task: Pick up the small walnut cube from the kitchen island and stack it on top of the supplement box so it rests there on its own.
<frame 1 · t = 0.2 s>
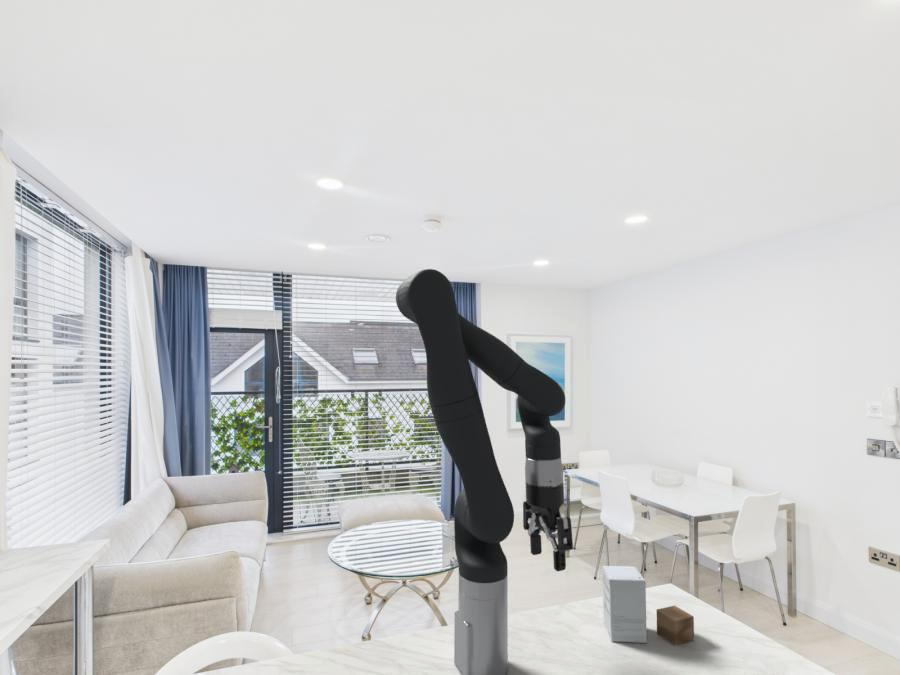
hand: (547, 561, 99), 17 cm above the kitchen island, tool pointing down, fingers open, 8 cm apart
supplement box: (624, 634, 105), on the kitchen island
walnut cube: (675, 637, 103), on the kitchen island
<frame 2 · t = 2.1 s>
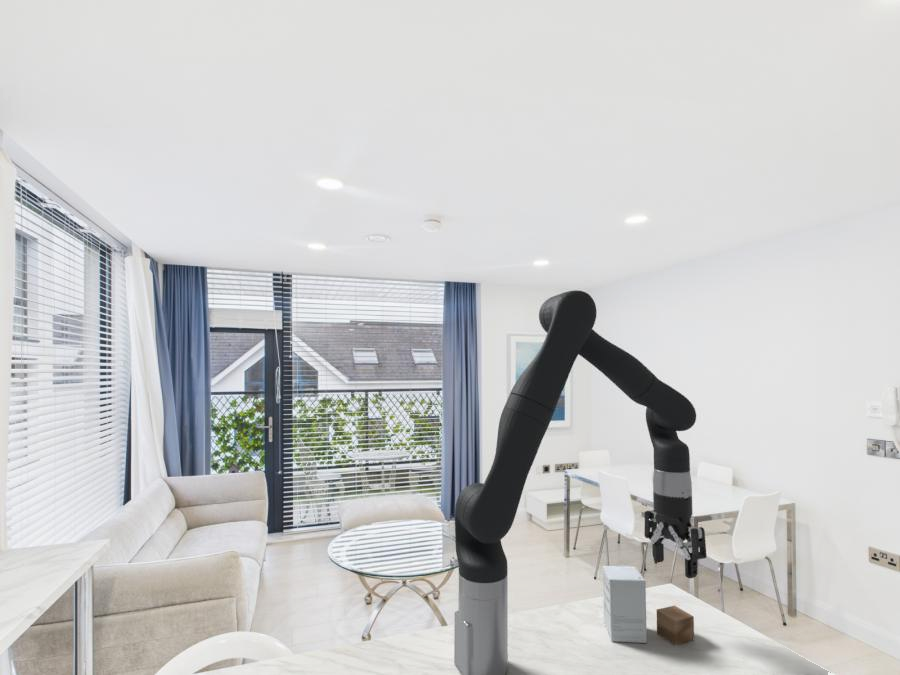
hand: (674, 569, 104), 14 cm above the kitchen island, tool pointing down, fingers open, 8 cm apart
nothing on the kitchen island moved.
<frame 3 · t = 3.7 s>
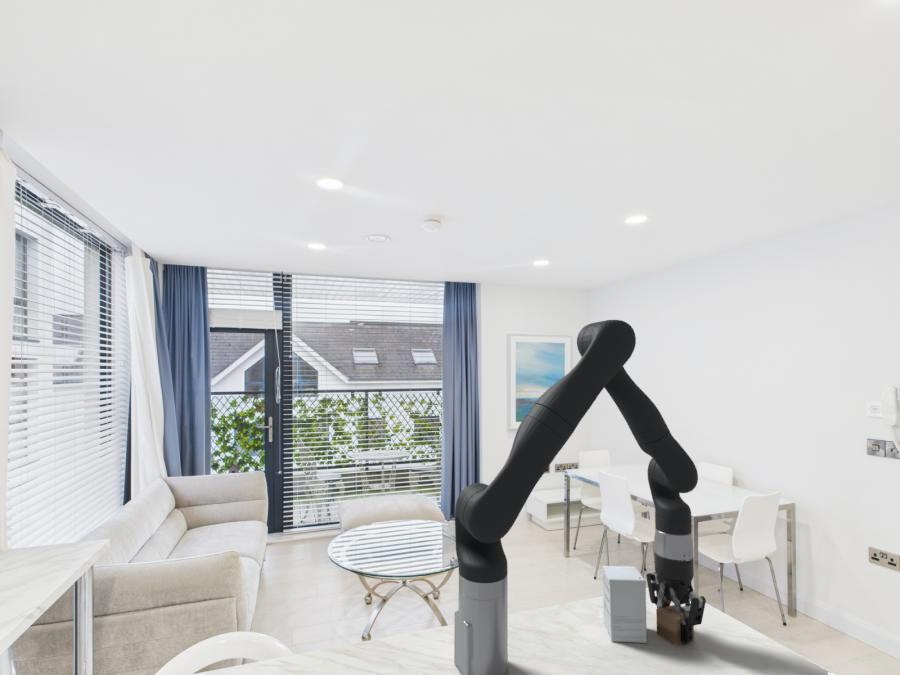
hand: (675, 634, 103), 0 cm above the kitchen island, tool pointing down, fingers closed on walnut cube, 5 cm apart
walnut cube: (675, 637, 103), on the kitchen island, touching gripper
everything else where it was.
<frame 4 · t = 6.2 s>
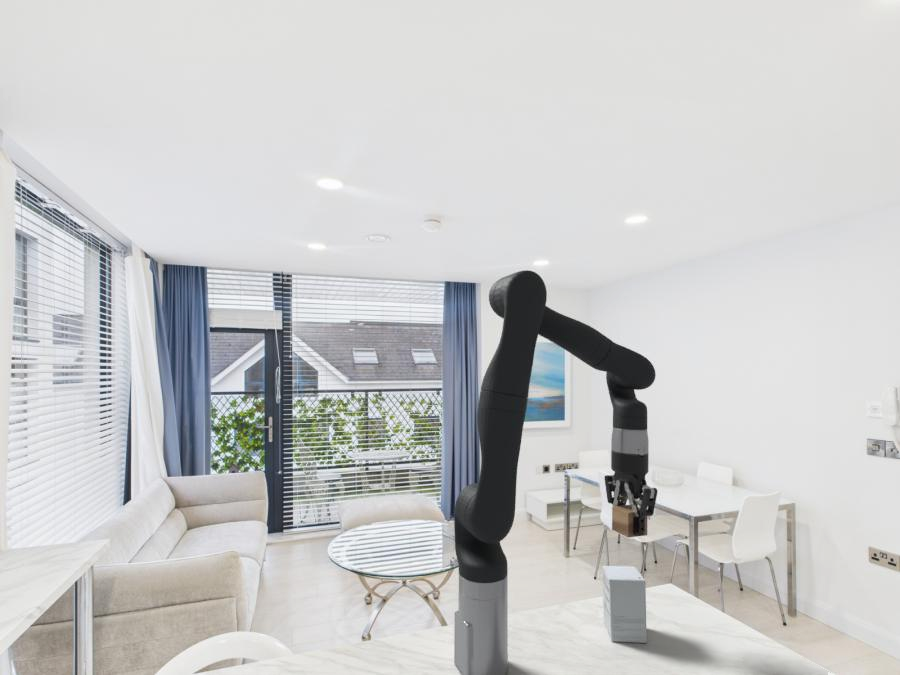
hand: (629, 530, 105), 22 cm above the kitchen island, tool pointing down, fingers closed on walnut cube, 5 cm apart
walnut cube: (629, 532, 105), point 21 cm above the kitchen island, touching gripper
everything else where it was.
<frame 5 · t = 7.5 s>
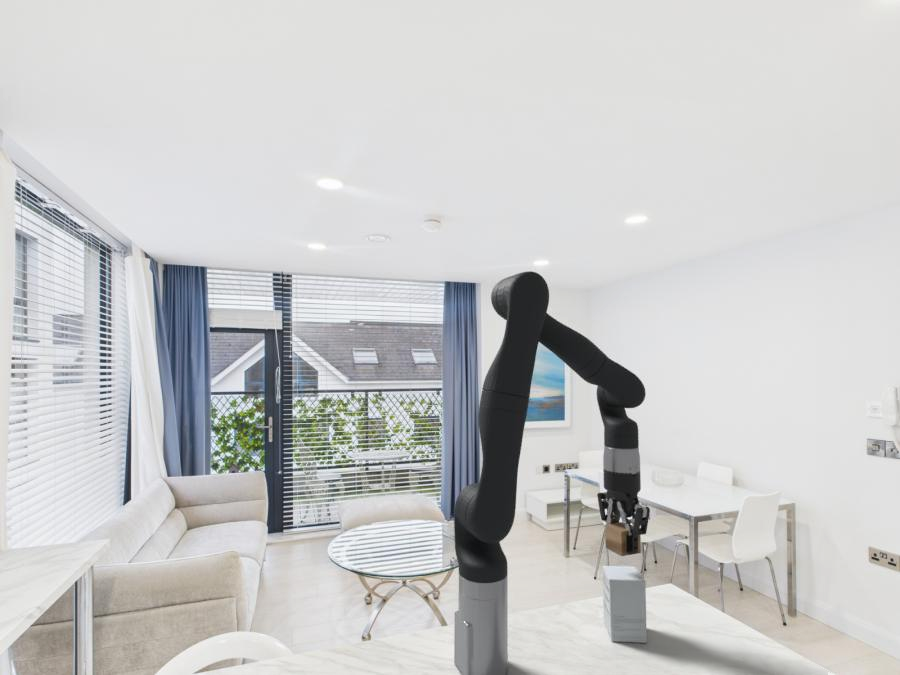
hand: (622, 548, 106), 18 cm above the kitchen island, tool pointing down, fingers closed on walnut cube, 5 cm apart
walnut cube: (623, 550, 106), point 17 cm above the kitchen island, touching gripper
everything else where it was.
when the fingers open (14 cm above the kitchen island, at t = 8.7 s): walnut cube drops 1 cm, resting on supplement box.
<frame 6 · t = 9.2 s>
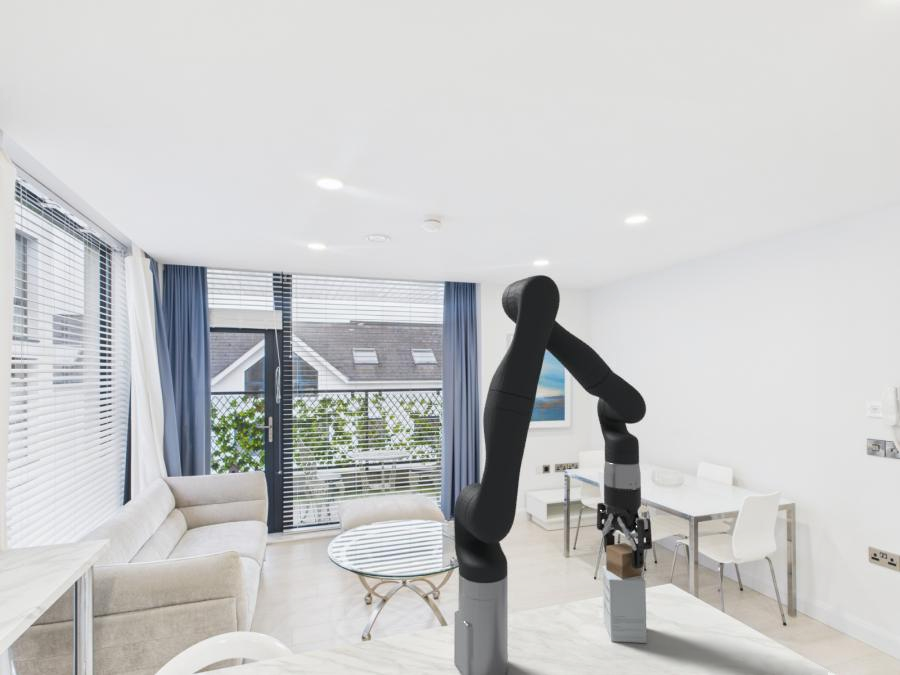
hand: (623, 560, 105), 15 cm above the kitchen island, tool pointing down, fingers open, 8 cm apart
supplement box: (624, 634, 105), on the kitchen island, touching walnut cube
walnut cube: (623, 572, 105), point 13 cm above the kitchen island, touching supplement box
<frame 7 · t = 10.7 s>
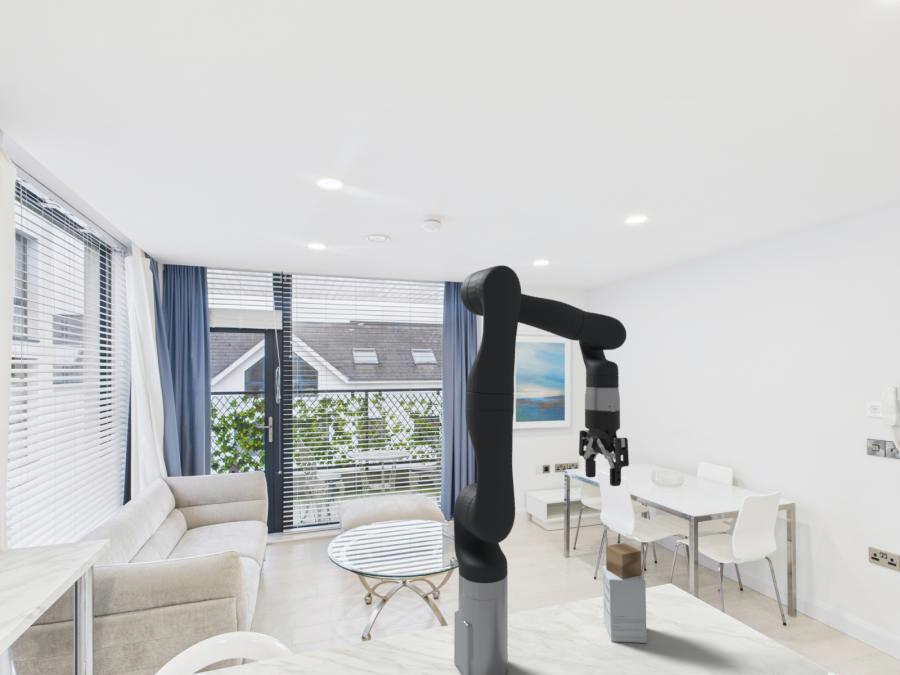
hand: (602, 481, 110), 31 cm above the kitchen island, tool pointing down, fingers open, 8 cm apart
nothing on the kitchen island moved.
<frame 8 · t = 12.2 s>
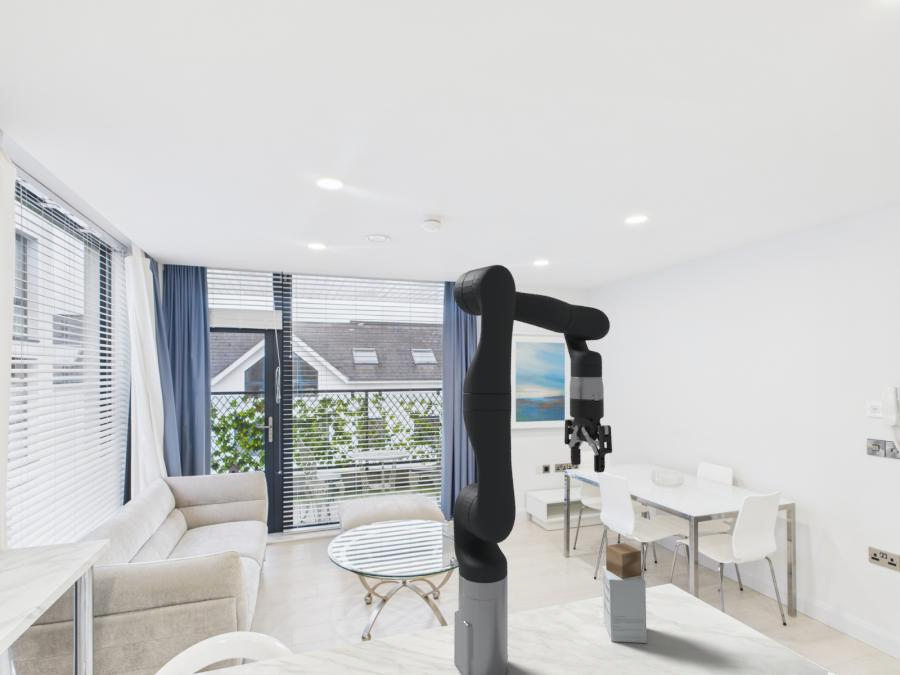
hand: (587, 468, 113), 33 cm above the kitchen island, tool pointing down, fingers open, 8 cm apart
nothing on the kitchen island moved.
at the end: walnut cube 0.1 cm from the supplement box (horizontally); walnut cube point 12.6 cm above the kitchen island; the gripper is holding nothing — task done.
